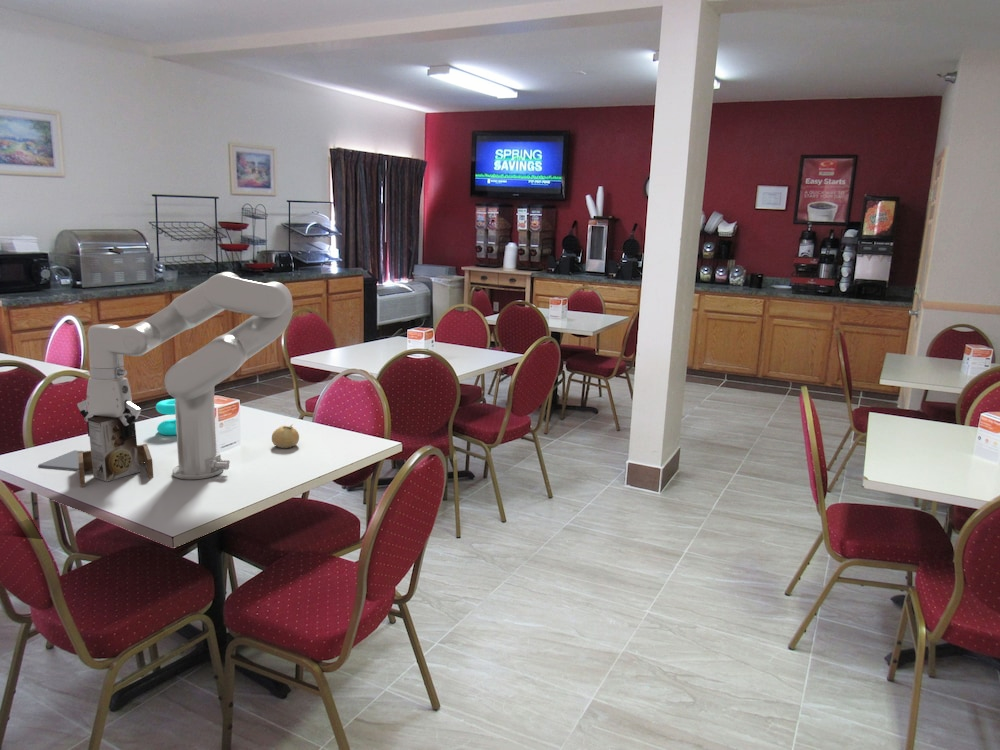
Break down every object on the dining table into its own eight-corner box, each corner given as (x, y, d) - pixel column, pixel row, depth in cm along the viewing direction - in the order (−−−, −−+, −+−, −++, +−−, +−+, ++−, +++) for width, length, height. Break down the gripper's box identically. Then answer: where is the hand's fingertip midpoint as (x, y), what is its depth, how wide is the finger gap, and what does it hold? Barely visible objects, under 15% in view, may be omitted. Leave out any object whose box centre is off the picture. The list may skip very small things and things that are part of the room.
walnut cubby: (148, 461, 194) (146, 444, 193) (153, 477, 182) (152, 459, 181) (79, 469, 186) (78, 451, 184) (80, 487, 174) (78, 468, 172)
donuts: (149, 404, 215) (165, 397, 225) (151, 435, 217) (167, 427, 227) (180, 406, 215) (195, 398, 225) (182, 437, 217) (197, 428, 227)
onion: (270, 451, 207) (270, 428, 205) (273, 443, 214) (272, 421, 213) (298, 450, 208) (298, 427, 207) (300, 442, 216) (299, 420, 215)
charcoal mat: (115, 455, 197) (115, 453, 197) (81, 470, 185) (81, 468, 185) (74, 452, 199) (74, 450, 199) (38, 466, 187) (38, 464, 186)
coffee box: (126, 467, 188) (121, 410, 185) (140, 472, 185) (135, 413, 182) (92, 477, 180) (86, 417, 177) (106, 482, 177) (100, 421, 174)
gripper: (147, 373, 180) (150, 436, 183) (87, 367, 182) (90, 430, 185) (128, 378, 172) (131, 444, 176) (65, 372, 175) (69, 437, 178)
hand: (110, 437), depth 180 cm, fingers open, 9 cm apart
